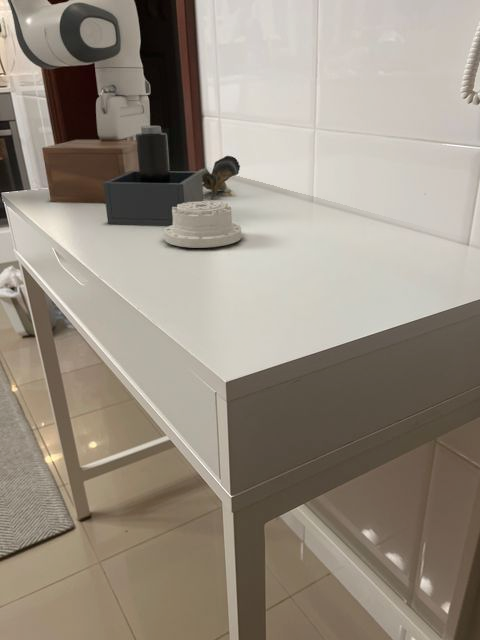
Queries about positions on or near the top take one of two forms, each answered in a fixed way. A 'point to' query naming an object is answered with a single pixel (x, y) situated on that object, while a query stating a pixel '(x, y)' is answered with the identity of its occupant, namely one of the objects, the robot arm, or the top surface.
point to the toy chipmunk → (220, 175)
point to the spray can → (153, 155)
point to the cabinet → (87, 167)
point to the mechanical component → (202, 225)
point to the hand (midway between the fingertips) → (128, 161)
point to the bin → (149, 197)
